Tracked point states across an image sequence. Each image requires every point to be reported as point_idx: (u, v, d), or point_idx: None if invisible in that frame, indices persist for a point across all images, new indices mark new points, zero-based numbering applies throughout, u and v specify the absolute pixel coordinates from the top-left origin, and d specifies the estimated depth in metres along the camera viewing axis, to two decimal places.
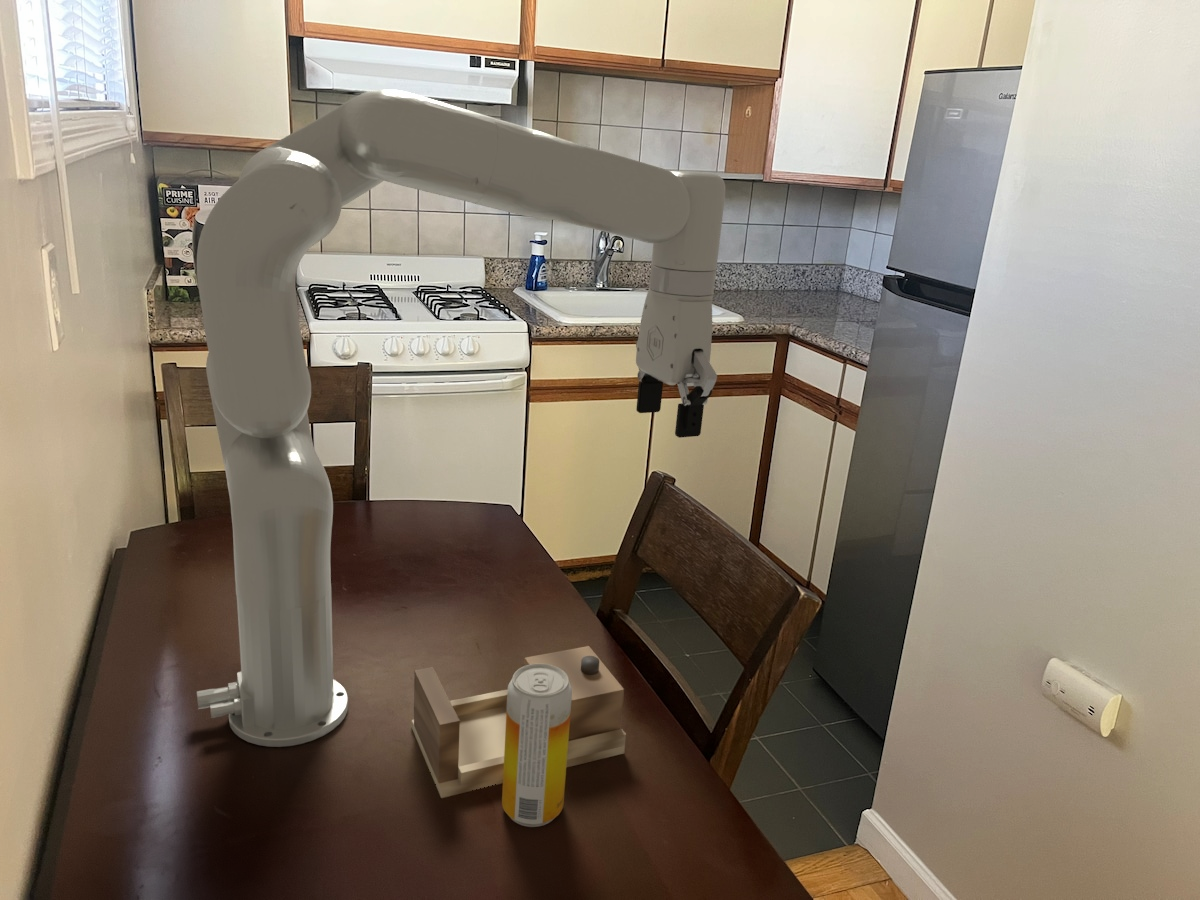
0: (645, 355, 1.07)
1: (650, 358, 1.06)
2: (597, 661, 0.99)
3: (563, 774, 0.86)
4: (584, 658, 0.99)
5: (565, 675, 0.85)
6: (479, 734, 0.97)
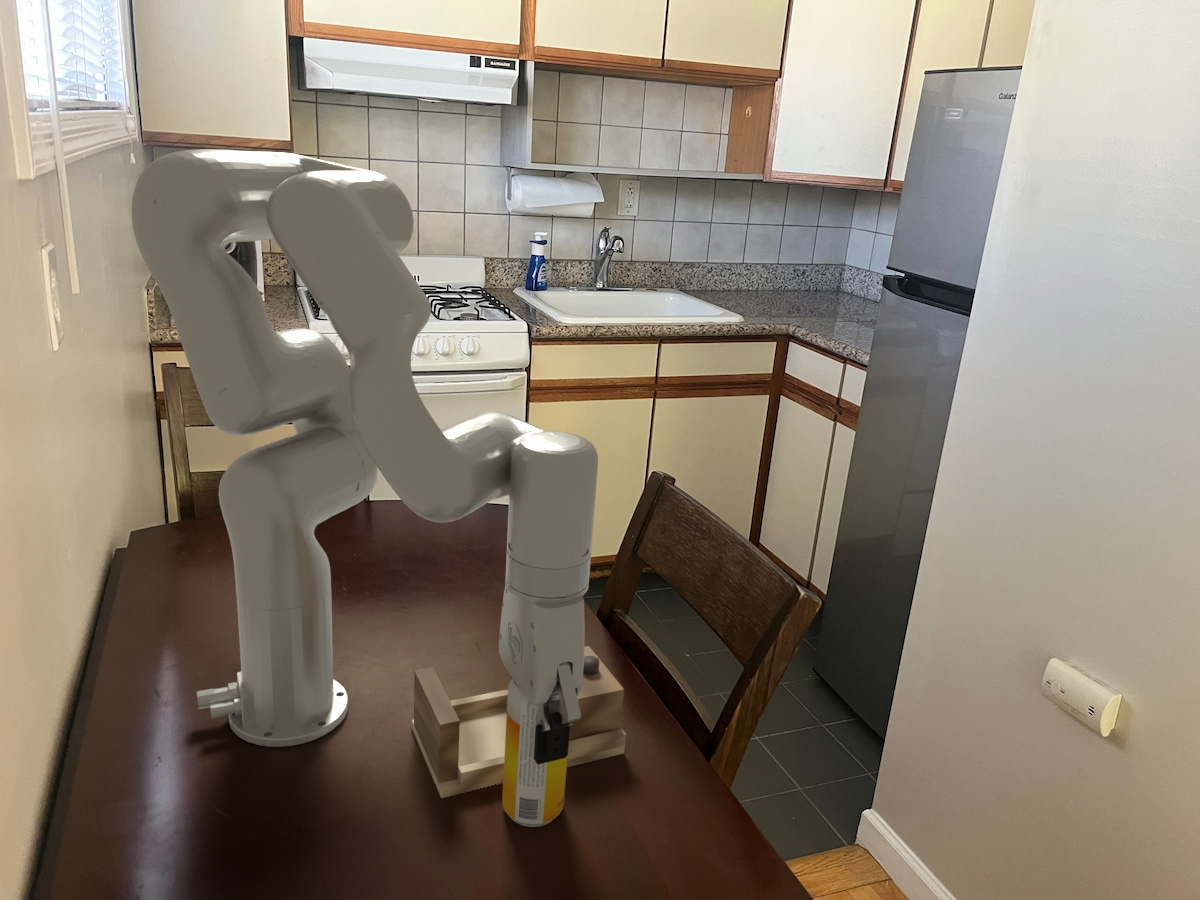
0: (506, 650, 0.83)
1: (511, 658, 0.82)
2: (597, 661, 0.99)
3: (563, 774, 0.86)
4: (584, 658, 0.99)
5: None
6: (479, 734, 0.97)
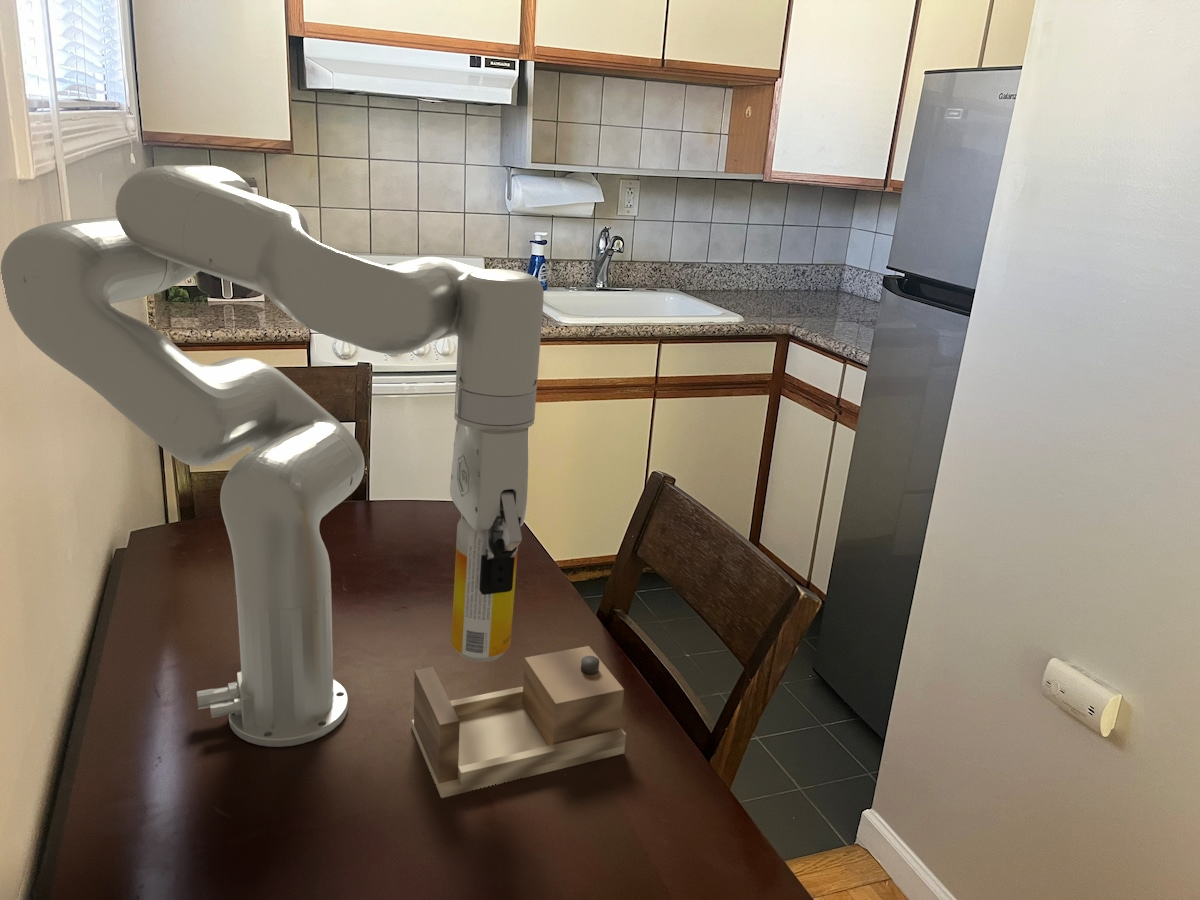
0: (456, 487, 0.87)
1: (460, 492, 0.86)
2: (597, 661, 0.99)
3: (509, 611, 0.90)
4: (584, 658, 0.99)
5: None
6: (479, 734, 0.97)
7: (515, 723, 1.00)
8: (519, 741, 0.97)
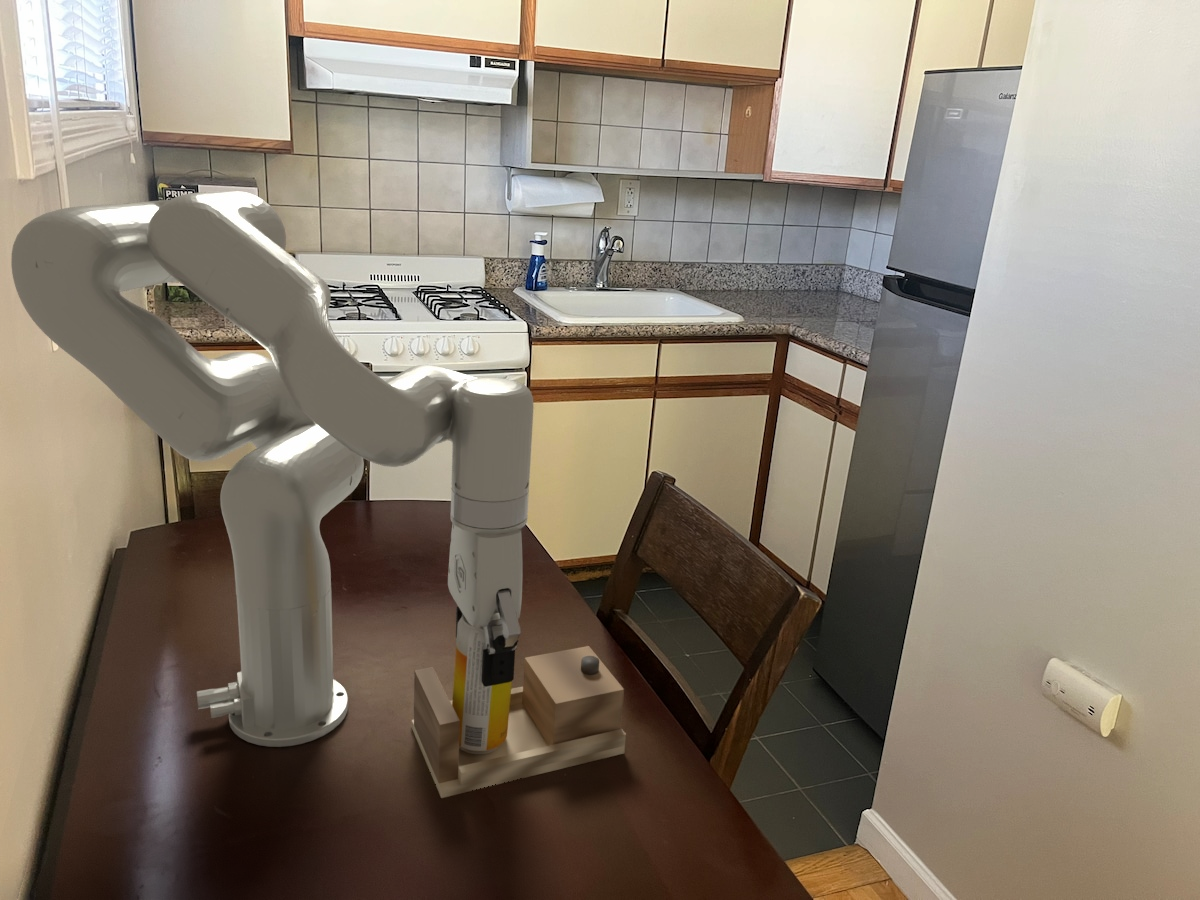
0: (453, 582, 0.91)
1: (457, 588, 0.90)
2: (597, 661, 0.99)
3: (507, 706, 0.94)
4: (584, 658, 0.99)
5: None
6: None
7: (515, 723, 1.00)
8: (519, 741, 0.97)
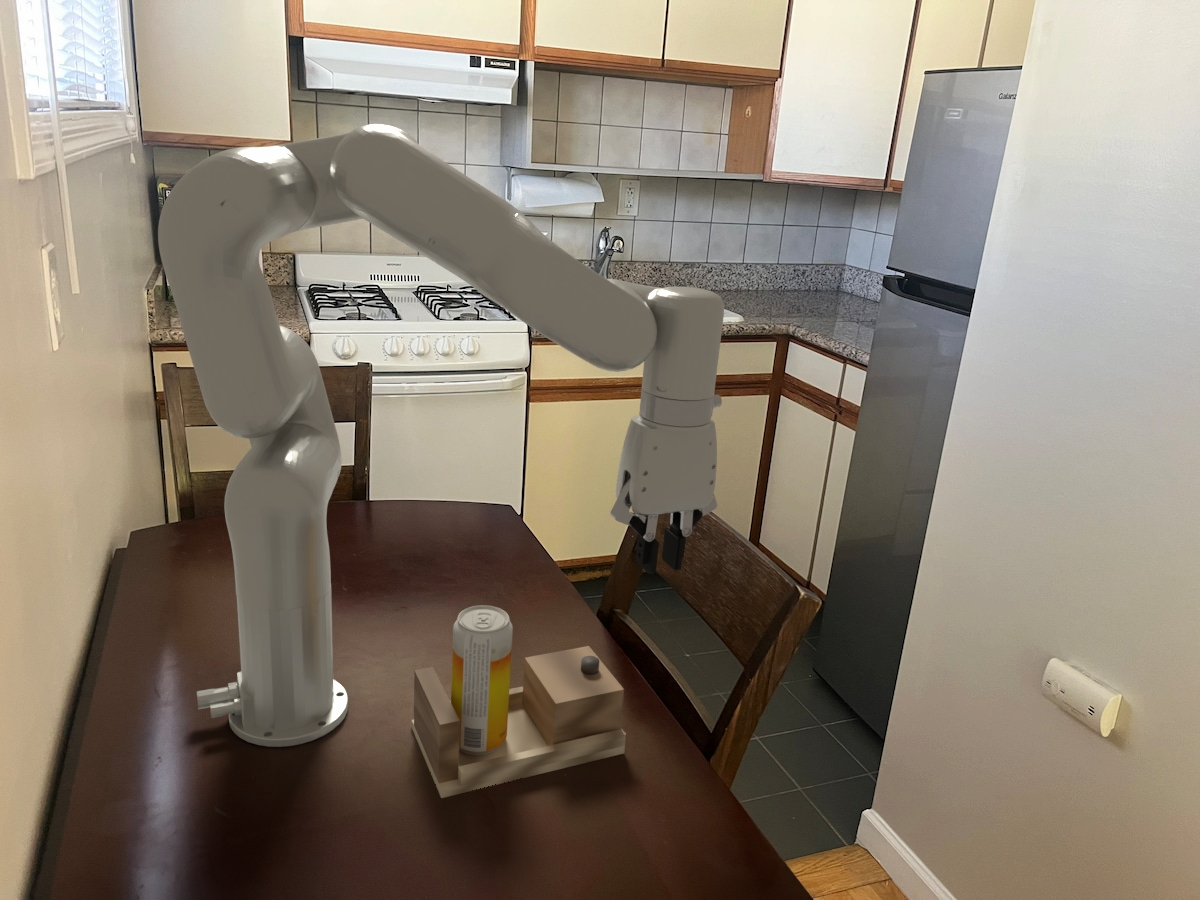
0: None
1: None
2: (597, 661, 0.99)
3: (505, 706, 0.94)
4: (584, 658, 0.99)
5: (506, 615, 0.93)
6: None
7: (515, 723, 1.00)
8: (519, 741, 0.97)
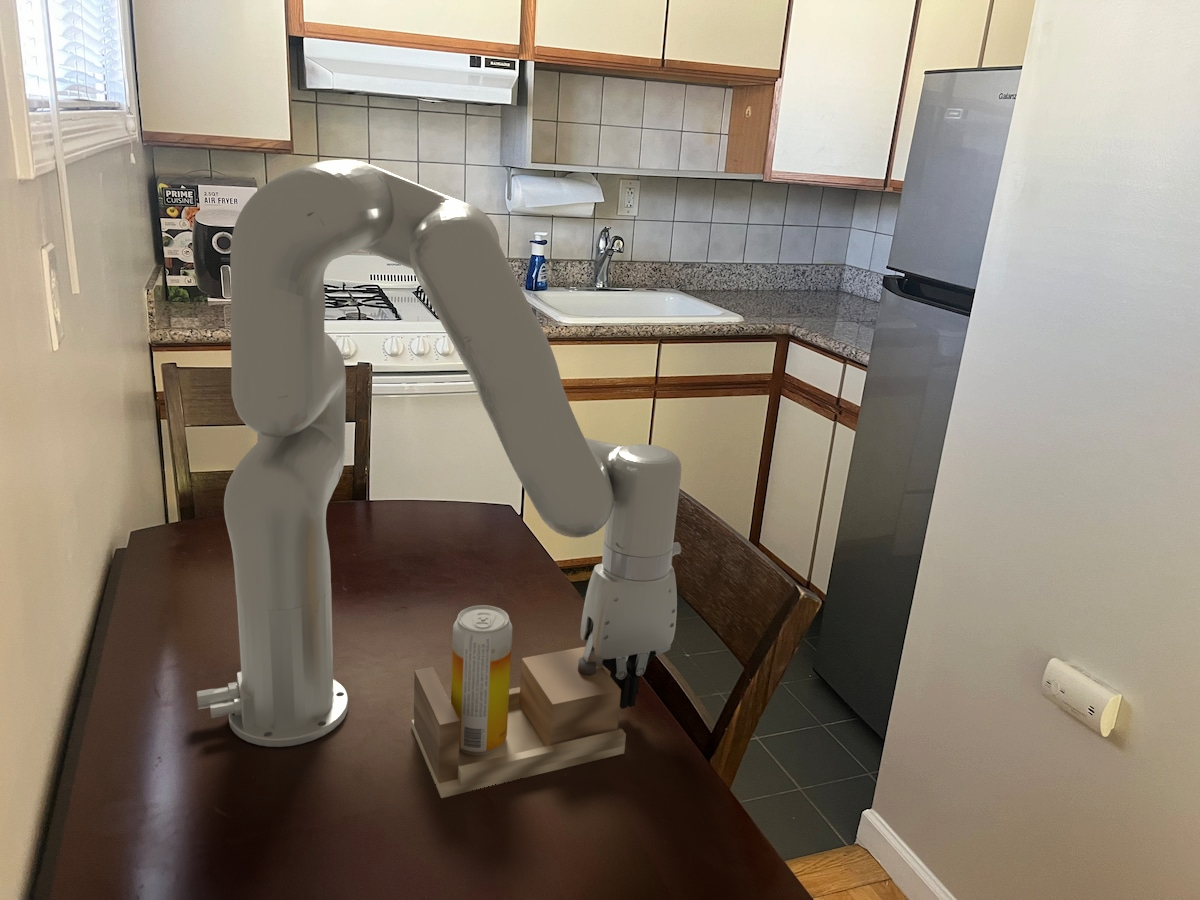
0: None
1: None
2: None
3: (505, 706, 0.94)
4: (581, 659, 0.99)
5: (506, 615, 0.93)
6: None
7: (515, 723, 1.00)
8: (519, 741, 0.97)
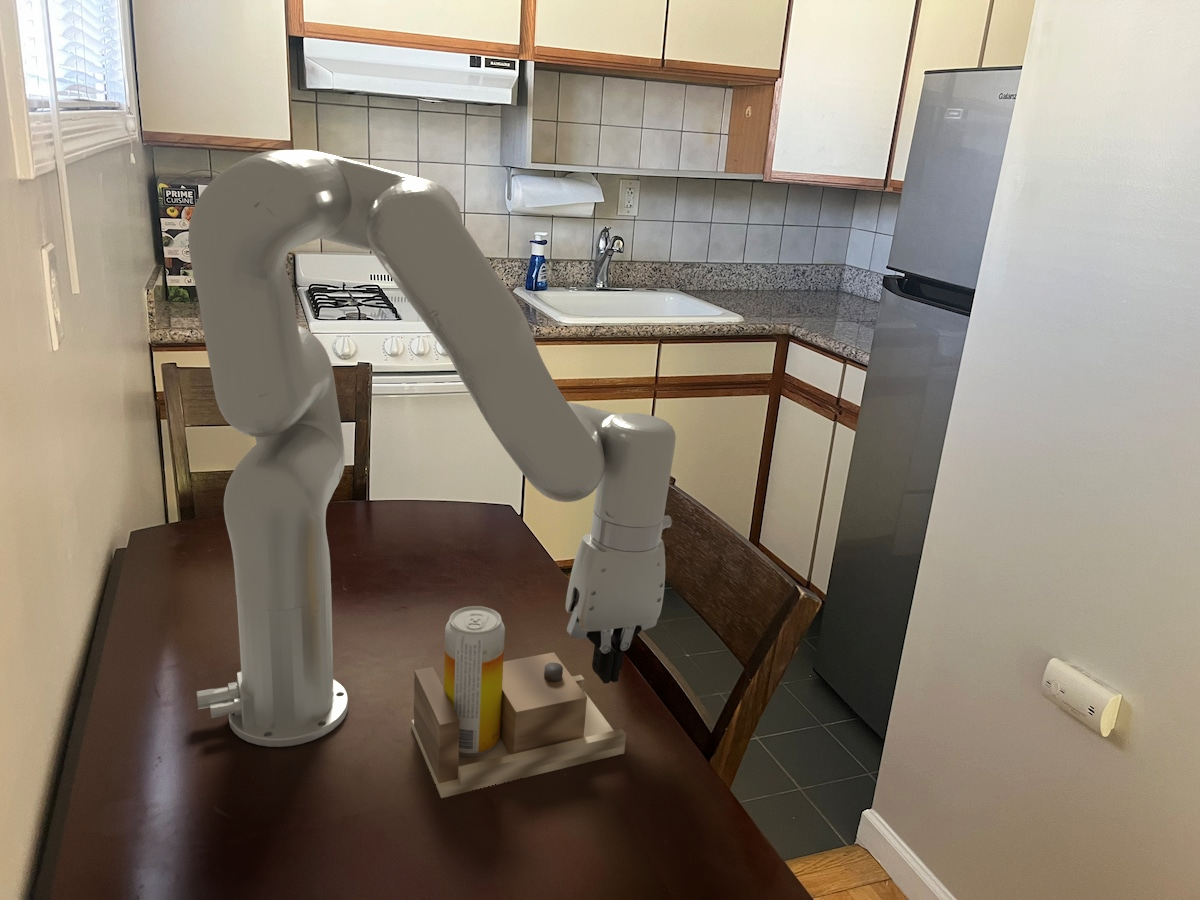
0: None
1: None
2: (560, 668, 0.97)
3: (497, 708, 0.93)
4: (547, 665, 0.98)
5: (499, 616, 0.92)
6: None
7: None
8: None
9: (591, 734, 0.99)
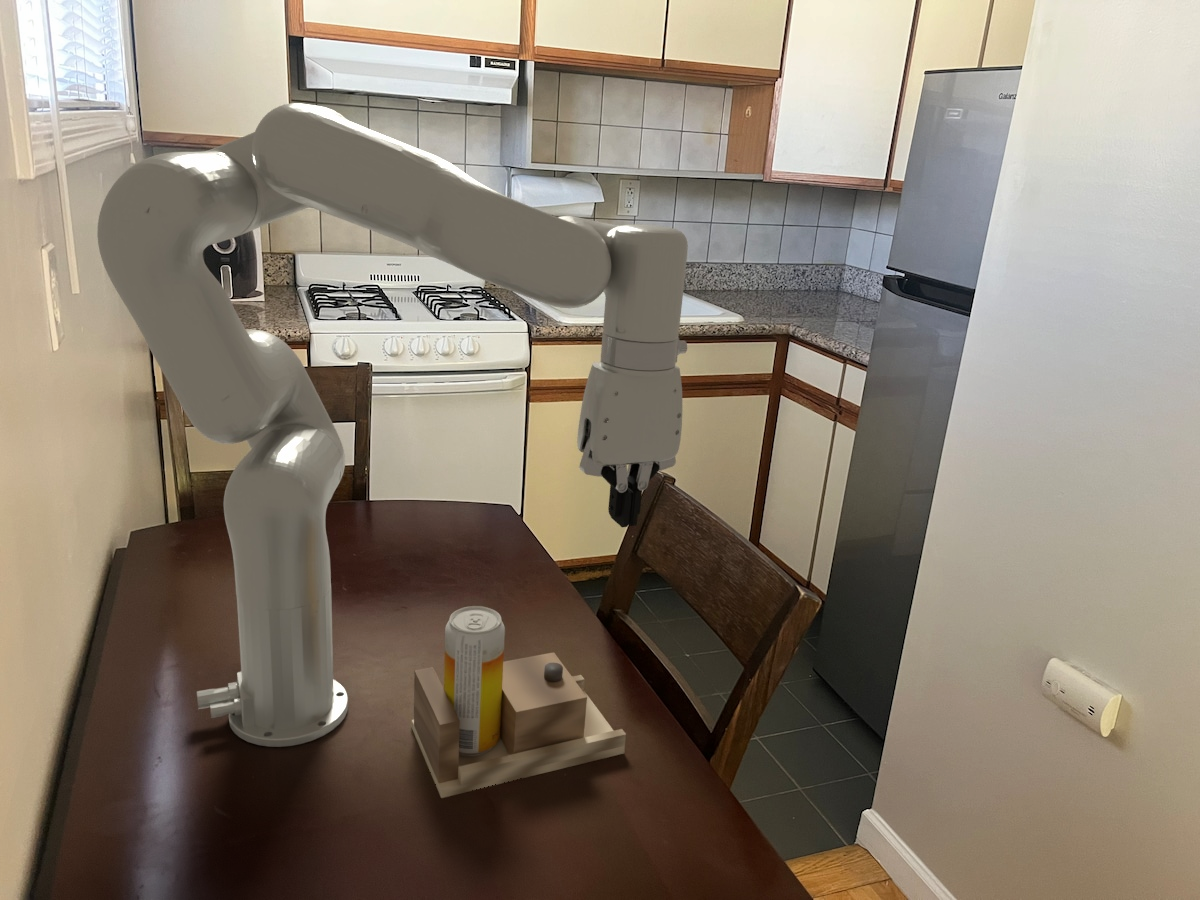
0: None
1: None
2: (560, 668, 0.97)
3: (497, 708, 0.93)
4: (547, 665, 0.98)
5: (499, 616, 0.92)
6: None
7: None
8: None
9: (591, 734, 0.99)
